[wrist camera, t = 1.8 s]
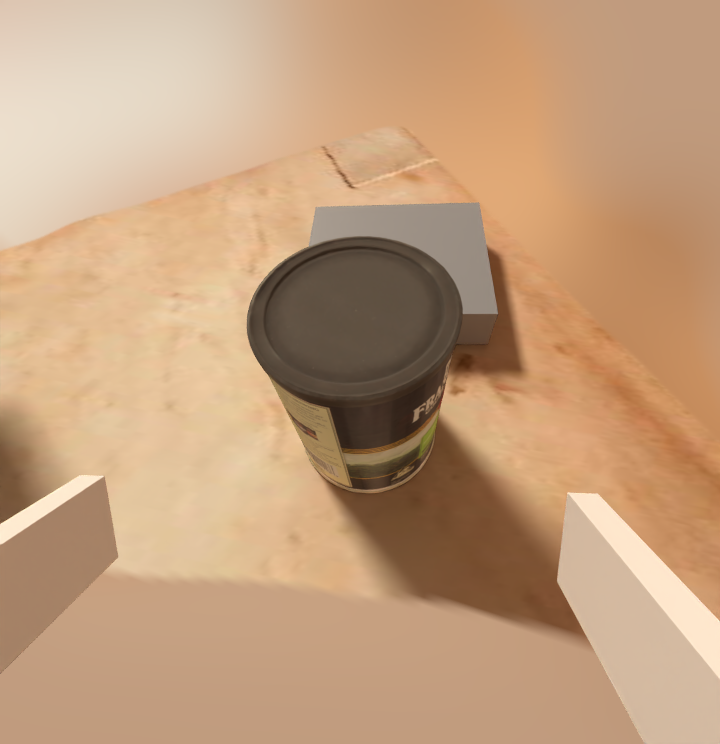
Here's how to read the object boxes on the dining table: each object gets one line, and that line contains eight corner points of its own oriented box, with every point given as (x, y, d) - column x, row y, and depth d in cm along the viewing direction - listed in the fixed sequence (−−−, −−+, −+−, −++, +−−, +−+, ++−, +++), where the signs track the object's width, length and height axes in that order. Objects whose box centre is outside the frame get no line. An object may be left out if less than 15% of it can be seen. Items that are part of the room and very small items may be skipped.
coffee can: (446, 386, 32) (478, 248, 20) (419, 511, 27) (440, 427, 15) (327, 360, 34) (293, 222, 22) (282, 472, 29) (206, 370, 17)
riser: (305, 343, 35) (296, 314, 32) (321, 239, 43) (316, 207, 39) (487, 344, 34) (498, 313, 31) (471, 236, 41) (479, 202, 38)
